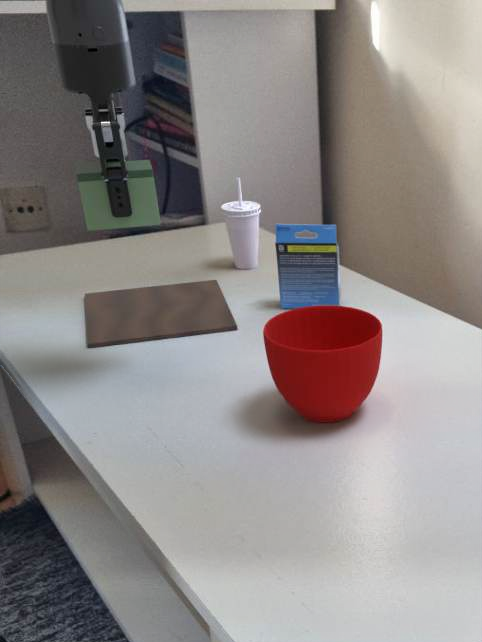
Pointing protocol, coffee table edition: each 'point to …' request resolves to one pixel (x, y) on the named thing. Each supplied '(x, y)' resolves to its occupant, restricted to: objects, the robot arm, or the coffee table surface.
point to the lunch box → (98, 200)
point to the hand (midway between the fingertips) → (121, 209)
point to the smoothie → (243, 230)
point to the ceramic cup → (324, 359)
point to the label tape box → (307, 266)
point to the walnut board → (156, 313)
